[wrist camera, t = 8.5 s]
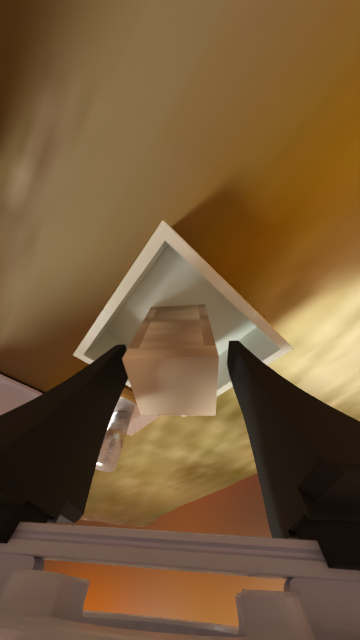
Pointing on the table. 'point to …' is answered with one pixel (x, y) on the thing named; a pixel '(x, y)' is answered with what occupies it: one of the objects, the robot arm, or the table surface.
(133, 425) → the stud plate
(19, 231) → the table surface
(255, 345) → the bin
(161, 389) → the socket block
